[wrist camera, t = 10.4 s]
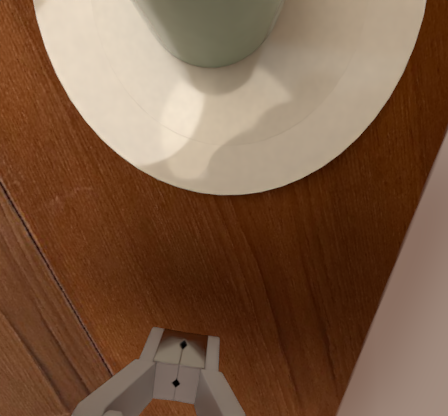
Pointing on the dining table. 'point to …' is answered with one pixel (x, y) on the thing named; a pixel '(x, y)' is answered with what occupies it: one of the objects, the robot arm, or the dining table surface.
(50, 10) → the plate
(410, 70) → the dining table surface
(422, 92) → the dining table surface
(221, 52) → the teacup
